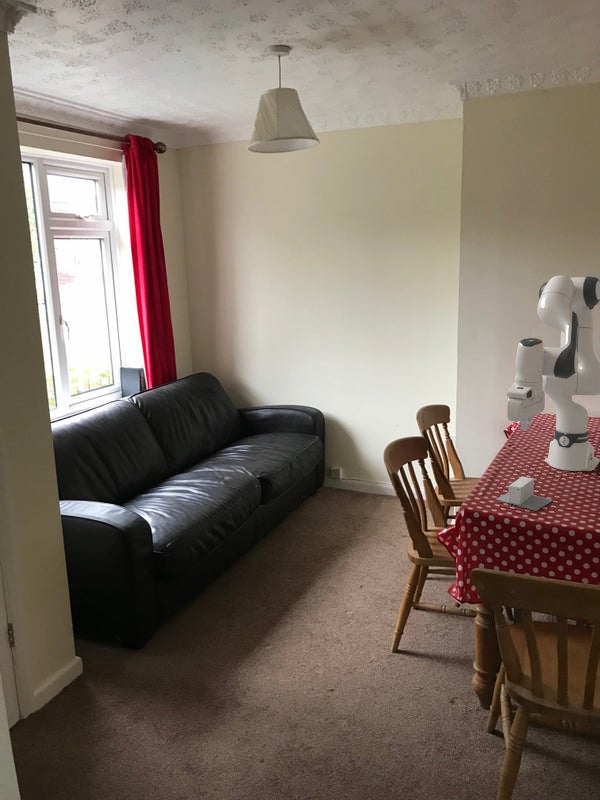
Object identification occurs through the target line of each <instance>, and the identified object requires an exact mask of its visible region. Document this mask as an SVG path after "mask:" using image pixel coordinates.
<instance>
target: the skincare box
mask: <svg viewBox="0 0 600 800" xmlns="http://www.w3.org/2000/svg"><path fill="white" fill-rule="evenodd" d="M534 485H535V479H534V478H532V477H526V476H521V477H519V478H518V479H517V480H515V481H514V482H513V483H511V484H509V485H508V492H509V494H508V503H513V504H517V505H521V504H522V503H523V502H525V501H526V500H527V499H529V498H530V497H531V496H533V495H534V487H535V486H534Z"/></svg>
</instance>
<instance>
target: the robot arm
mask: <svg viewBox="0 0 600 800" xmlns="http://www.w3.org/2000/svg"><path fill="white" fill-rule="evenodd" d="M599 303H600V279H599V278H598V277H596V276H590V275H589V276H586V277H585V276H575V277H574V276H572V277H569V276H567V275H563V274H559V275H555V276H552V277H551V278H550V279H549V280H548V281H546V282H544V283H542V285H541V286H540V287H539V291H538V303H537V309H536V312H537V316H538V318H539V320H540V321H541V322H542V323H543V324H545V326H548V327H550V328H553V329H555V330H558V331H560V347H556V346H555V347H554V346H553V347H552V346H544V341H543V340H542V339H540V338H535V337H528V338H523V339H521V340H520V341H519V342H518V345H517V349H516V355H515V360H514V361H515V362H514V363H515V364H514V368H515V376H514V377H513V378H514V379H513V383H512V385H511V386H510V387H509V388H508V389H507V392H506V397H507V398H508V399H507V403H506V405H507V406H506V417H507V420H508V421H509V422H514V423H515V422H516V423H520V430H521V431H528V430H529V429H531V423H532V421H533V416H535V415H538V414H541V413H542V412H544V410H545V406H546V404H545V401H546V396H545V395H548V396H549V398H550V399H551V400H552V402H553V404H554V407H555V413H556V418H555V420H556V421H555V428H554V431H553V438H554V439H553V440H551V441H550V442H549V451H548V456H547V457H545V459H544V462H545V463H547V464H548V465H549V466H551V467H552V468H553V469H554V468H555V469H557V470H558V469H559V470H563V471H573V472H577V471H578V472H579V471H580V472H582V471H583V472H587V471H590V472H592V470H594V471H595V470H596V468H597V467H598V465H599V463H600V458H598V457H595V447H594V446H593V445H592V444H591V442H590V440H589V436H590V435H591V431H592V430H591V429H588V420H589V412H588V409H586V408H585V406H583V405H581V404H580V403H578V402H575V401H574V400H573V396H598V395H600V361H599V360H598V358H597V356H596V355H595V351H594V347H593V346H594V343H593V332H594V331H593V326H594V323H593V312H592V310H594V307H595V306H597V305H598V304H599Z"/></svg>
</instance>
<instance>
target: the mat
mask: <svg viewBox="0 0 600 800" xmlns="http://www.w3.org/2000/svg"><path fill="white" fill-rule="evenodd" d="M508 494H509V491H508V492H506V493H505V494H503V495H501V496H499V497H497V498H495V501H496V500H497V502H499V501H501V502H500V503H503V502H505V503H504V504H507V503H508ZM552 502H553V499H551V498H547V497H543V496H538V495H534V494H533V496H531V497H530V498H529V499H527V500H526V501H525V502H523V503H522V504H521V505H517V504H513V503H509V504H508V505H511V504H513V505H512V506H515V505H516V506H515V507H519V508H523V509H526V508H527V510H531V511H535V512H536V511H538V510H540V509H542V508H544V507H545V506H546V505H548V504H551V503H552Z"/></svg>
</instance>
